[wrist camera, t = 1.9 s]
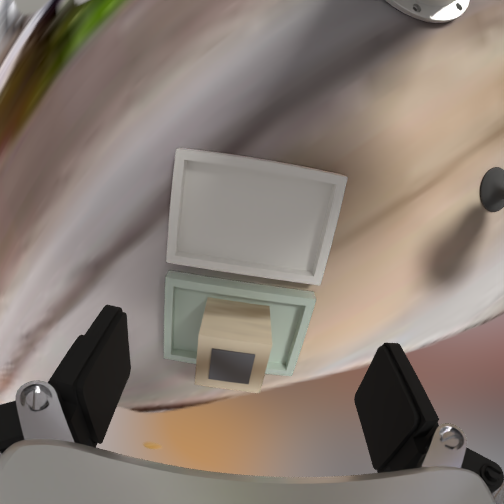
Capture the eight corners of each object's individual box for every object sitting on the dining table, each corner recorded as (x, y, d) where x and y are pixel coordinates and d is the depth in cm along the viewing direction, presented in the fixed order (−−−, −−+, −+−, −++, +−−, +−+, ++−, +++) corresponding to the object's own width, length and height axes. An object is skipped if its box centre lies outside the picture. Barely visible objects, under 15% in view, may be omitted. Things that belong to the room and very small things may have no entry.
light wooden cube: (207, 297, 31) (198, 335, 25) (269, 306, 31) (272, 346, 25) (202, 345, 33) (194, 386, 27) (258, 353, 33) (259, 395, 28)
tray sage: (169, 270, 30) (165, 277, 29) (313, 291, 31) (316, 299, 29) (166, 349, 34) (163, 358, 32) (290, 367, 34) (291, 376, 33)
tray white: (180, 147, 26) (176, 149, 24) (343, 174, 26) (347, 177, 25) (169, 255, 29) (166, 262, 28) (317, 278, 30) (320, 285, 29)
